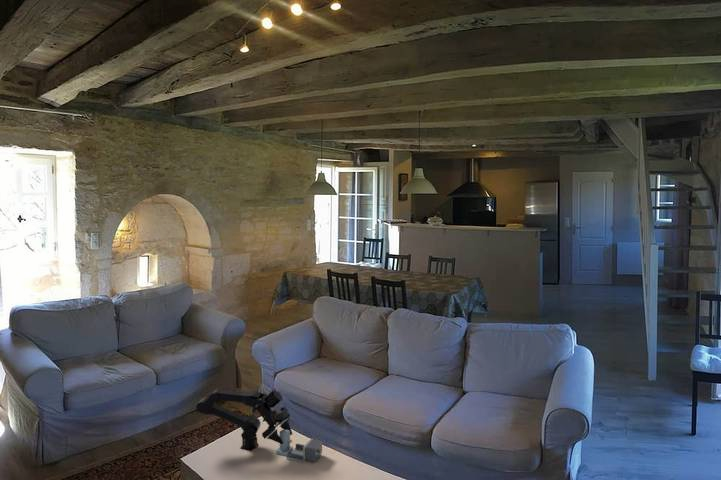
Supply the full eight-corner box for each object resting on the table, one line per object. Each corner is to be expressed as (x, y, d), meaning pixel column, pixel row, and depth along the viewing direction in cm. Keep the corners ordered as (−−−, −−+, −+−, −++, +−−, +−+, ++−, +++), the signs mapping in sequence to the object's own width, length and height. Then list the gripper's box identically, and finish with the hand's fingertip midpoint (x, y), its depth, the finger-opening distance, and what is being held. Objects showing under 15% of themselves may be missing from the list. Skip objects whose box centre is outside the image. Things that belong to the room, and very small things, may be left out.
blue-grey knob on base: (276, 453, 235) (276, 433, 234) (282, 447, 241) (282, 428, 240) (288, 456, 233) (288, 436, 232) (294, 450, 238) (294, 430, 237)
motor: (286, 459, 230) (286, 444, 230) (297, 447, 241) (297, 434, 240) (316, 465, 225) (316, 451, 225) (325, 453, 236) (325, 439, 235)
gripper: (267, 412, 227) (288, 439, 224) (286, 396, 244) (306, 421, 242) (253, 425, 230) (273, 452, 228) (272, 409, 248) (292, 433, 245)
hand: (287, 439), depth 236 cm, fingers open, 9 cm apart
